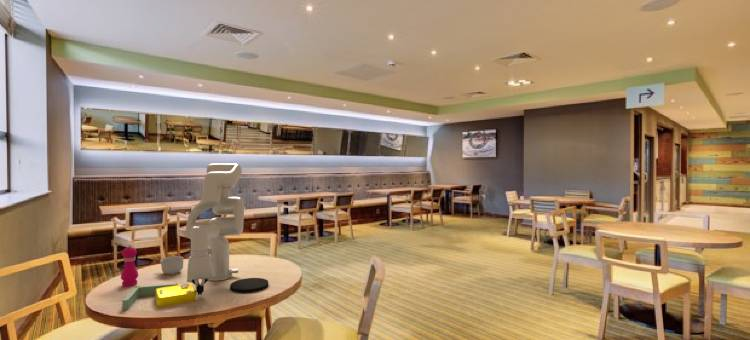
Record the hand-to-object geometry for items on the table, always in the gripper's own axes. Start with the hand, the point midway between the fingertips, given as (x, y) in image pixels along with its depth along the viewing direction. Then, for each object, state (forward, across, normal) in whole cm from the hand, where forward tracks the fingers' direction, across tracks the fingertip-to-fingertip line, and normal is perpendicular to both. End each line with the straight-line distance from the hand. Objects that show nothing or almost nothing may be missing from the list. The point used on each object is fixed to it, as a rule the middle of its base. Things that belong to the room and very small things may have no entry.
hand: (199, 293), depth 170 cm
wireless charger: (+2, -21, -8) cm, 23 cm away
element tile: (+2, +10, -1) cm, 10 cm away
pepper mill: (+2, +34, -29) cm, 45 cm away
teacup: (+2, +19, -46) cm, 49 cm away
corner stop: (+1, +19, -2) cm, 20 cm away
